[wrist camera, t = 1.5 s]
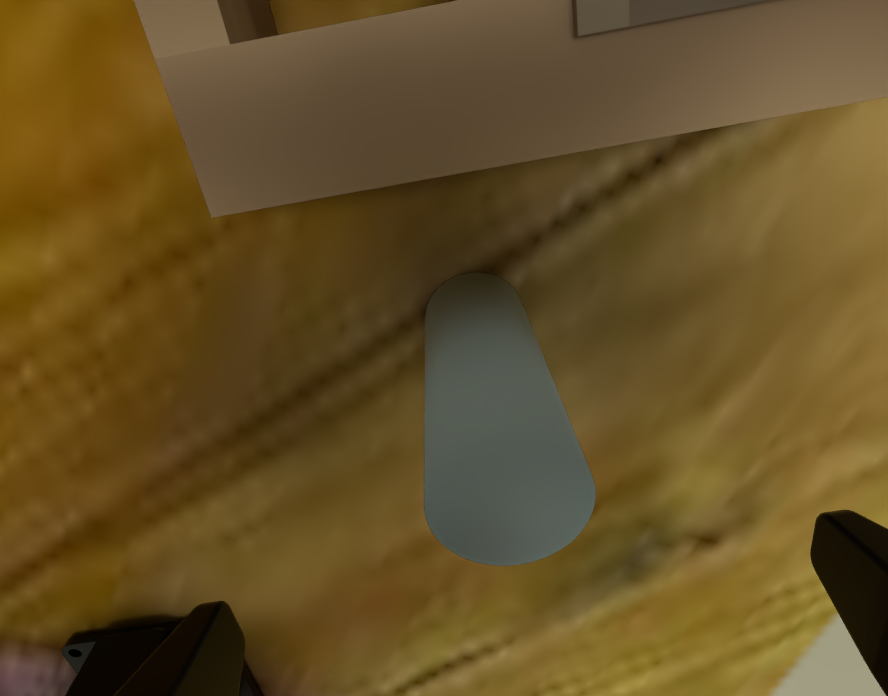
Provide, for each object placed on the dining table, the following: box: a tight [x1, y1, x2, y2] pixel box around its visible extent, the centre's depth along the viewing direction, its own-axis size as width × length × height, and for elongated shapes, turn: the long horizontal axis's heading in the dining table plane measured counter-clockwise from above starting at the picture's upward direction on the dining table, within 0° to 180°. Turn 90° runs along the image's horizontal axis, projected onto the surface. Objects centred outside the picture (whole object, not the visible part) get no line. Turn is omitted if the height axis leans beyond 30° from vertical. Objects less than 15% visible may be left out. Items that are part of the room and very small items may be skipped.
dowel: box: [424, 272, 596, 566], centre depth 13 cm, size 3×3×8 cm
